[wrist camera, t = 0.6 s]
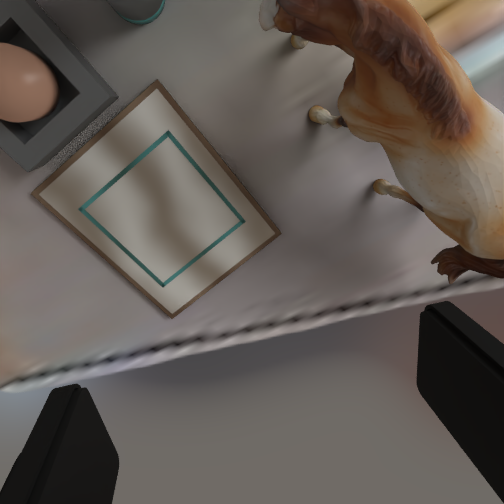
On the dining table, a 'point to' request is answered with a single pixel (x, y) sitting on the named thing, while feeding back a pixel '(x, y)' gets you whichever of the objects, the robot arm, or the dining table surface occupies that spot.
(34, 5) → the button base
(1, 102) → the button
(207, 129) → the dining table surface
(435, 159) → the horse figurine
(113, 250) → the board
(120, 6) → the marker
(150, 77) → the dining table surface
